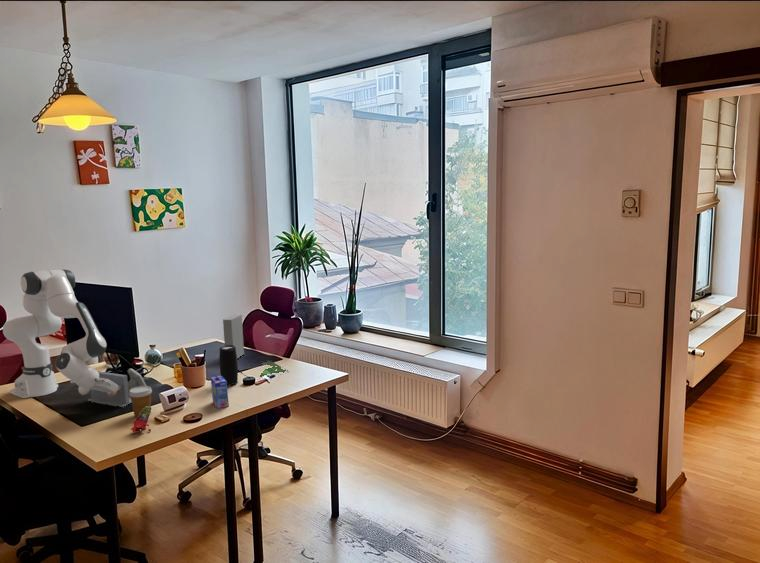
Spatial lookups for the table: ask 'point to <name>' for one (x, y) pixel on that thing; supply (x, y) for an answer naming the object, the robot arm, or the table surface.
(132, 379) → the grey curved piece
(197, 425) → the table surface
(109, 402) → the mount
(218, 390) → the ink cartridge box
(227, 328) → the grey upright block
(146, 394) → the disposable coffee cup
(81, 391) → the knob cream
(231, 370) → the portable speaker
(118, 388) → the knob terracotta
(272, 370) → the green leafy plant
